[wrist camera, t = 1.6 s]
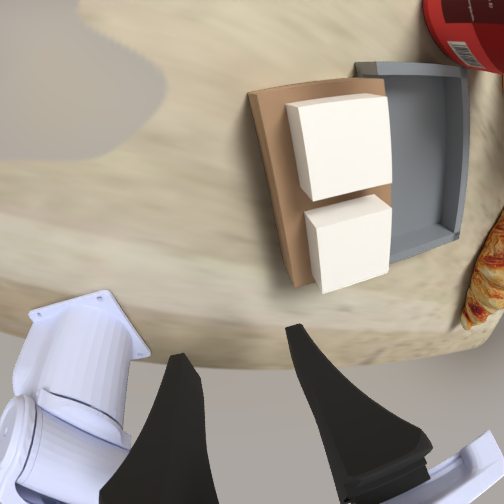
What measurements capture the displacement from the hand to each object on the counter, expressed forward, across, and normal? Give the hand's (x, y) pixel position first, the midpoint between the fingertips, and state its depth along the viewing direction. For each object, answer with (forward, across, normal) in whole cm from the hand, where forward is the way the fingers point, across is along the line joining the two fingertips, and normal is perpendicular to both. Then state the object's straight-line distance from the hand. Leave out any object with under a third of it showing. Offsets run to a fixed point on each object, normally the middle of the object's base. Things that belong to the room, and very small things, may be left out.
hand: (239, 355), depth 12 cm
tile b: (+6, -7, -6) cm, 11 cm away
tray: (+9, -15, -3) cm, 18 cm away
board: (+9, -7, -3) cm, 12 cm away
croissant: (+10, -30, +11) cm, 33 cm away
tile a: (+6, -7, 0) cm, 10 cm away
